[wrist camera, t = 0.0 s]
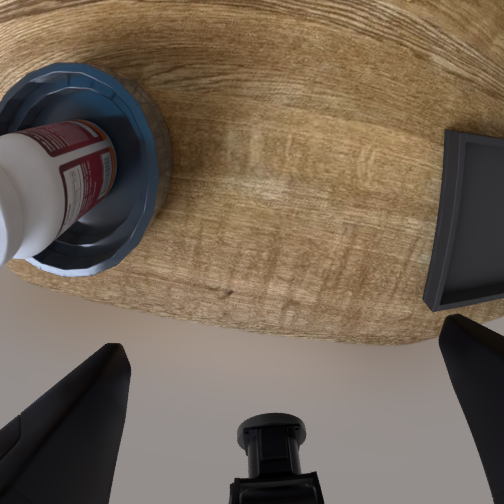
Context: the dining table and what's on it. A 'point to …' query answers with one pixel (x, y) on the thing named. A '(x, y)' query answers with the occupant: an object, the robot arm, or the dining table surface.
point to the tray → (468, 224)
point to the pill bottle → (50, 182)
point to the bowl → (127, 152)
